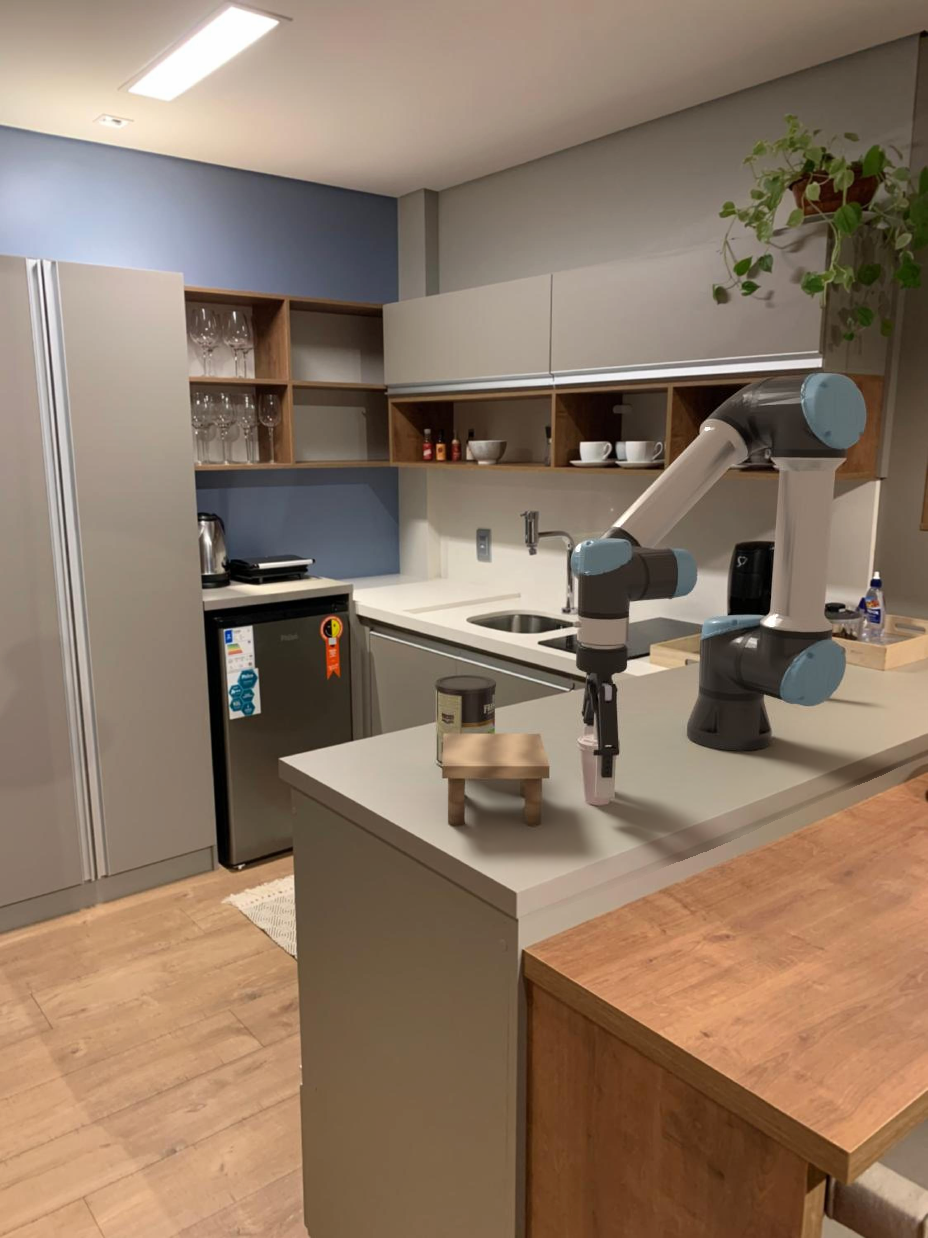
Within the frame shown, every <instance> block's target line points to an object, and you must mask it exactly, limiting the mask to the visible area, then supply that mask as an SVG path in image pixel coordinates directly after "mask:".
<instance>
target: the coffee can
mask: <svg viewBox="0 0 928 1238" xmlns="http://www.w3.org/2000/svg"><path fill="white" fill-rule="evenodd" d="M496 686H497V682H496V680H494V679H492V678H490V677H487V676H482V675H473V674H457V675H449V676H444V677H441V678H437V679H436V680H435V681H434V687H435V764H436V765H437V766H439V767H440V768H442V760H443V737H444V734H496V733H495V732H496V731H495V730H496V728H495V727H496V725H495V722H496V719H495V718H496Z"/></svg>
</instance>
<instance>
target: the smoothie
mask: <svg viewBox="0 0 928 1238" xmlns="http://www.w3.org/2000/svg"><path fill="white" fill-rule="evenodd" d="M618 741H619V750H620V749H621V740H620V739H619V738H618ZM577 747H578V748H579V753H580V764H581V765H580V766H581V772H582V773H581V774H582V775H581V776H582V785H583V786H582V787H583V795H584V802H585V803H587V804H589V805H593V806H605V805H608V804H609V803H610V800H611V799H610V798H596V797H595V781H596V756H594V755H593V752H594V750H598V741H597V728H596V715H595V713H594V734H588V735H583V734H582V735H581V736H580V737H578V739H577ZM605 747H611V745H606V746H605ZM617 756H618V755H616V759H617Z"/></svg>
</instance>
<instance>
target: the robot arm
mask: <svg viewBox="0 0 928 1238" xmlns="http://www.w3.org/2000/svg"><path fill="white" fill-rule="evenodd" d="M866 423H867V407H866V402H865V398H864V395H863V394H862V392H861V390H860V389H859V388H858V387H857V384H856V382H854V381H853V380H852V379H851V378H850V377H848V376H846V375H844V374H841V373H829V372H827V373H825V372H816V373H808V374H797V375H788V376H787V375H786V376H770V377H769V376H768V377H764V378H761V379H758V380H756V381H754V382H752V383H750V384H747V385H746V386H744V387H743V388H741V389H740V390H738V391H737V392H736V393H734V394H733V395H731V396H730V397H729V398H727V399H726V400H725V401H724V402H723V403H722V404H720V406H718V407H717V408H716V409H715V410H714V411H713V412H712V413H711V414H710V415H709V416H708V417H707V418H706V419H705V420H704V421H703V422H702V423H701V424H700V427H699V435H698V436H696V438H695V439H694V440H693V441H692V442H691V443H690V444H688V446H687V448H685V449H684V450H683V451H682V453H680V454H679V456H678V457H677V458H676V459H675V460H673V462H672V463H671V464H670V465H669V466H668V467H667V468H666V469H665V470H664V471H663V472H662V473H661V474H660V475H659V476H658V478H656V480H655V481H653V482H652V484H650V486H649V487H647V488H646V490H645V491H644V492H643V493H642V494H641V495H640V496H639V497H638V498H637V499H636V500H635V501H634V502H633V504H631V505H630V507H629V508H628V509H626V510H625V512H624V513H622V515H621V516H620V517H619V518H618V519H617V520H616V521H614V522H613V524H612V525H611V526H610V528H608V529H607V530H606V531H605V532H604V533H603V534H602V535H601V536H600V537H599V538H598V537H596V538H595V537H594V538H588V539H586V540H583V541H581V542H579V543H578V544H577V545H576V546H575V547H574V549H573V551H572V553H571V556H570V557H571V558H570V568H571V572H572V573H573V576H574V577H575V578H576V580H577V618H578V620H575V621H573V627H574V628H575V629H576V628H577V629H576V630H577V631H576V632H577V633H576V635H577V636H576V639H577V641H578V642H579V643H578V644H577V645H576V653H575V654H576V655H575V656H576V658H575V663H576V664H575V667H576V668H577V669H578V670H580V671H581V672H583V673H585V674H586V675H585V683H584V684H585V685H584V686H585V687H584V691H583V692H584V693H583V703H582V709H581V710H582V711H581V715H582V717H583V719H582V720H583V721H582V722H583V724H584V725H583V734H582V736H583V735H588V734H594V713H595V715H596V728H597V741H598V750H594V752H593V755H594V756H596V781H595V797H596V798H612V799H615V791H616V788H615V787H616V764H617V758H616V755H617V756H619V755H620V752H621V751H620V749H619V741H618V739H619V725H618V724H619V722H618V702H617V701H618V698H617V697H618V691H619V690H618V689H619V688H617V685H616V683H614V680H613V678H612V677H613V675H615V674H620V673H623V672H625V671H626V670H627V669H628V651H629V649H628V647H627V645H626V644H627V643H628V642H629V634H630V631H629V629H630V607H631V606H630V604H631V602H632V603H633V602H641V601H643V602H644V601H651V600H652V601H653V600H664V599H665V600H667V599H668V600H673V599H677V598H681V597H685V596H687V595H689V594H690V593H691V592H692V591H693V590H694V588H695V587H696V585H697V582H698V565H697V562H696V560H695V558H694V556H693V555H692V554H691V553H690V552H689V551H688V550H686V549H684V548H672V547H667V548H663V549H661V548H655V547H656V546H657V544H659V543H660V541H662V540H663V538H665V536H666V535H667V534H668V533H669V532H670V531H671V530H672V529H673V528H674V526H676V525H677V524H678V523H679V521H680V520H681V519H683V517H684V516H685V515H686V514H687V513H688V512H689V511H690V510H691V509H692V508H693V507H694V505H696V503H698V501H700V499H701V498H702V497H703V496H704V495H705V494H706V493H707V492H708V491H709V490H710V489H711V488H712V487H713V486H714V485H715V483H717V481H718V480H719V479H720V478H721V477H722V476H723V475H724V474H725V473H726V472H727V471H728V470H729V468H730V467H731V466H733V465H739V464H743V462H744V461H746V459H747V458H748V457H749V456H750V455H751V454H752V453H754V452H757V451H759V450H762V449H767V448H771V449H770V460H771V461H772V462H773V464H775V466H777V468H778V470H779V474H778V475H779V476H778V490H777V503H776V505H777V506H776V508H777V509H776V518H775V523H776V524H775V534H774V535H775V536H774V551H773V563H772V564H773V565H772V566H773V567H772V580H771V581H772V582H771V592H770V593H771V599H770V609H769V613H768V614H766V615H763V614H762V615H761V614H733V615H731V614H730V615H719V616H714V617H713V616H712V617H709V618H707V619H706V620H705V621H704V622H703V623H702V627H701V637H700V639H699V643H700V645H699V647H700V648H699V670H698V671H699V673H698V674H699V676H698V695H697V698H696V700H695V704H694V706H693V708H692V711H691V713H690V716H689V718H688V720H687V725H686V736H687V738H688V739H689V740H690V741H692V742H694V743H695V744H698V745H701V746H704V747H707V748H713V749H717V750H718V749H719V750H724V751H726V750H727V751H754V749H755V750H759V749H760V748H761V749H764V748H766V747H768V746H770V745H771V744H772V735H773V734H772V733H773V731H772V726H771V721H770V719H769V715H768V711H767V707H766V703H765V696H768V697H770V698H774V699H777V700H781V701H783V702H785V703H787V704H791V705H799V706H803V707H815V706H818V705H820V704H823V703H824V702H825V701H827V700H829V699H830V698H831V697H832V695H833V694H834V692H836V691H837V690H838V688H839V687H840V684H841V683H842V681H843V678H844V676H845V672H846V669H847V656H846V653H845V651H844V649H843V647H842V645H840V644H839V643H838V642H836V641H835V640H833V630H834V627H833V626H834V625H833V624H832V622H830V620H828V619H827V616H826V615H825V610H826V609H825V608H826V607H825V606H826V594H827V583H828V570H829V569H828V568H829V557H830V556H829V555H830V543H831V530H832V518H833V517H832V516H833V506H834V505H833V502H834V493H835V492H834V491H835V479H836V477H835V476H836V470H837V469H838V468H839V467H840V466H841V465H842V464H843V463H845V462H846V461H847V454H848V453H847V452H848V449H849V448H851V447H852V446H854V445H855V444H856V443H857V442H859V440H860V438H861V436H860V435H863V433H864V431H865V428H866ZM770 743H771V744H770ZM606 745H611V747H605V746H606Z"/></svg>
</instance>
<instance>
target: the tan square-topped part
mask: <svg viewBox="0 0 928 1238" xmlns="http://www.w3.org/2000/svg"><path fill="white" fill-rule="evenodd" d="M545 749H546V748H545V746H544V742H543V740H542V736H541V733H495V734H444V737H443V760H442V767H441V773H442V774H441V779H447V824H448V825H449V826H453V827H459V826H463V825H465V823H466V820H465V819H466V816H465V815H466V805H465V804H466V779H519V796H520V797H522V798H524V824H525V825H527V826H530V827H537V826H540V825H541V824H542V812H543V811H542V805H543V804H542V803H543V802H542V801H543V796H542V795H543V779H549V780H550V767H551V766H550V763H549V760H548V756H547V754H546V750H545Z"/></svg>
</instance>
